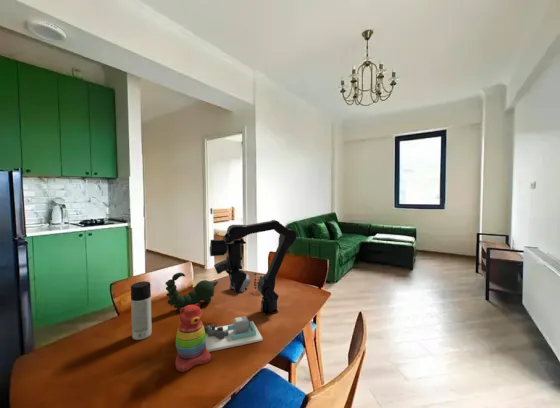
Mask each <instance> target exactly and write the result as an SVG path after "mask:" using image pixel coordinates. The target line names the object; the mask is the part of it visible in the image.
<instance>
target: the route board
mask: <svg viewBox="0 0 560 408" xmlns="http://www.w3.org/2000/svg"><path fill="white" fill-rule="evenodd" d="M249 321H250V320H249ZM250 322H251V323H252V325H253V327H254V328H255V330H256V335H255V336H252V337H247V338H242V339H237V340H231V335H235V333H234V329H230V330H228V325H229V324H227V325H221V326H217V327H216V325H215V323H211V325H204V324H203V326H204V330H205V334H206V341H205V349H206V350H207V351H208V352H209V353H210V352H215V351H219V350H224V349H227V348H234V347H239V346H243V345H248V344H253V343H258V342H262V341H263V339H264V338H263V336H262V335H261V333H260V331H259V329H258V328H257V326H256V324H255V322H254V321H253V320H251V321H250ZM249 332H251V329H250V327H249Z"/></svg>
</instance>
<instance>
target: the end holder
mask: <svg viewBox="0 0 560 408" xmlns="http://www.w3.org/2000/svg"><path fill="white" fill-rule="evenodd" d="M248 321H249V327H250V329H251V332H246V333H241V334H236V335H231V340H237V339H242V338H247V337H252V336H255V335H256V330H255V328H254V327H253V325H252V323H251V322H250V320H248ZM227 325H228V330H230V329H234V325H233V324H232V323H231V324H227Z"/></svg>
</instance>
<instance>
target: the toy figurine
mask: <svg viewBox="0 0 560 408" xmlns="http://www.w3.org/2000/svg"><path fill="white" fill-rule="evenodd" d="M171 277H172V278H170V279H168V280H167V281H166V282H165V286H166V287H165V290H166V291H167V293H165V294H166V297H168V298H169V299H168V300H167V304H168V305H170V307H172V306H173V307H174V309H177V311H178V312H180V310H181V309H182V308H184V307H186V306H188V305H195V304H197V303H198V304H199V305H200V306H201V304H202V303H201V301H203V302H204V303H206V304H208V303H210V302H211V301H212V298H213V297H214V295H215V287H216V286H217V285H218V284H219V281H217V280H216V281H210V280H207V279H204V280H203V279H202V280H200V281H198V282H197V283H196V285H195V286H194V289H192V290H189V292H188V293H187V294H184V295H180V293H179V291H178V289H177V285H176V281H177V280H178V279H180V278H181V277H186V275H185V273H183V272H176V273H175V274H173V275H172V276H171Z"/></svg>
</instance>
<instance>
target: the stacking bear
mask: <svg viewBox="0 0 560 408" xmlns="http://www.w3.org/2000/svg"><path fill="white" fill-rule="evenodd" d="M200 306H201V304H200V305H199V304H198V303H197V304H195V305H188V306H186V307H184V308H183V307H182V309H181V310H180V311H179V320H180V324H179V327H178V328H177V331H176V336H175V347H176V351H177V355H176V358H175V369H176V370H177V371H178V372H181V373H184V372H187V371H188V370H191V368H193V367H194V366H197V365H204V364H207V363H209V362H210V361H211V360H212V355H211V353H210V352H208V351H207V350H206V345H205V341H206V334H205V330H204V326H203V325H204V324H203V321H202V318H203V313H202V309H201V308H200Z"/></svg>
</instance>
